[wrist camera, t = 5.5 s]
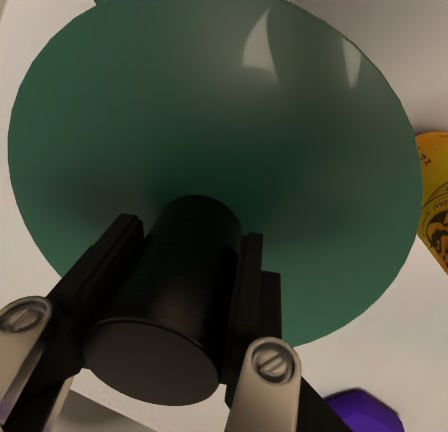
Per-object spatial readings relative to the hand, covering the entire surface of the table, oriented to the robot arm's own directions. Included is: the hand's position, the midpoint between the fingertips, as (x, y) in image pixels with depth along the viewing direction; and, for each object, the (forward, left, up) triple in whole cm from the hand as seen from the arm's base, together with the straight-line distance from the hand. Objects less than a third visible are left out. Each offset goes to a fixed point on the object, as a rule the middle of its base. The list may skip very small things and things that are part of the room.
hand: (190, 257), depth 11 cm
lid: (0, 0, -2) cm, 2 cm away
